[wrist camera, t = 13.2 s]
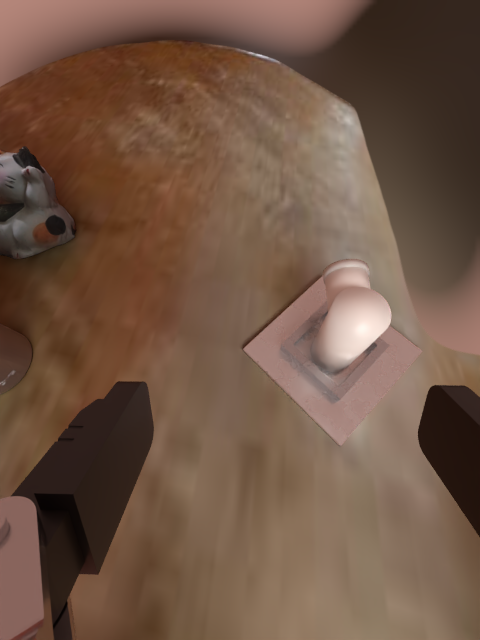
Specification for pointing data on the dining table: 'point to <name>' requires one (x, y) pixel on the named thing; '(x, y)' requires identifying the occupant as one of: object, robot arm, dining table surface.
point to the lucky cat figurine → (29, 208)
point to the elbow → (348, 315)
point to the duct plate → (318, 384)
